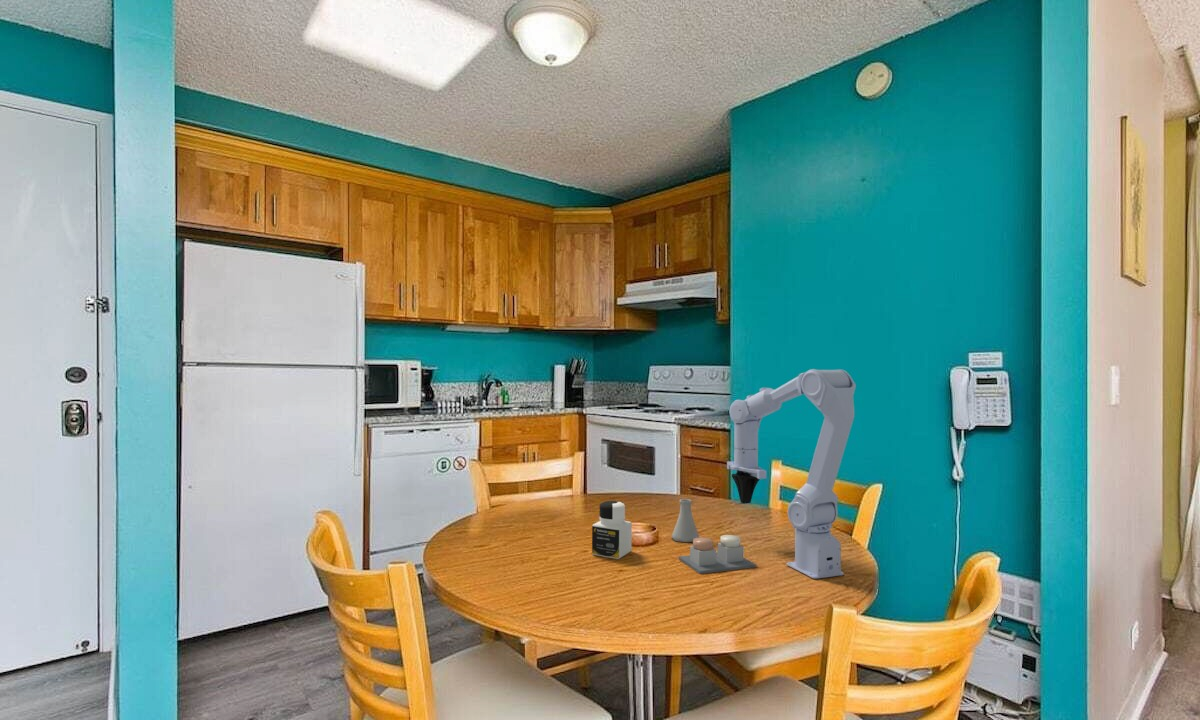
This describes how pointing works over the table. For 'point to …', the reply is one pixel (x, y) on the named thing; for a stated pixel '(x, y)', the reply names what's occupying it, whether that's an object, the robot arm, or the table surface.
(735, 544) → the cream knob
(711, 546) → the terracotta knob
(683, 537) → the flask
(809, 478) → the robot arm
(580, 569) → the table surface
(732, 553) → the knob mount
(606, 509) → the medicine bottle
